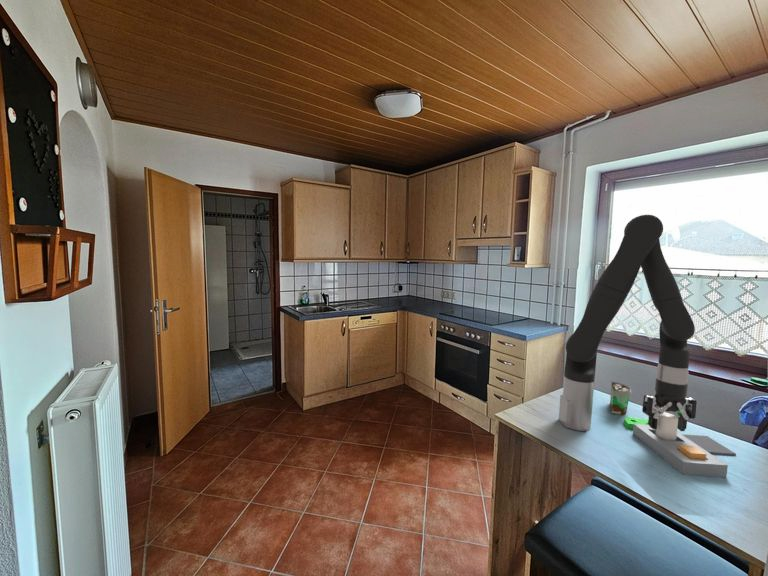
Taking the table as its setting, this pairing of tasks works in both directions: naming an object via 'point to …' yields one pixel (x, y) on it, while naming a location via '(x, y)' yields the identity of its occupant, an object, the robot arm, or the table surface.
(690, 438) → the mat
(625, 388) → the food container
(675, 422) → the white upright cylinder
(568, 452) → the table surface
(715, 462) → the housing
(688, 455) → the orange cube
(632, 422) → the mechanical part
